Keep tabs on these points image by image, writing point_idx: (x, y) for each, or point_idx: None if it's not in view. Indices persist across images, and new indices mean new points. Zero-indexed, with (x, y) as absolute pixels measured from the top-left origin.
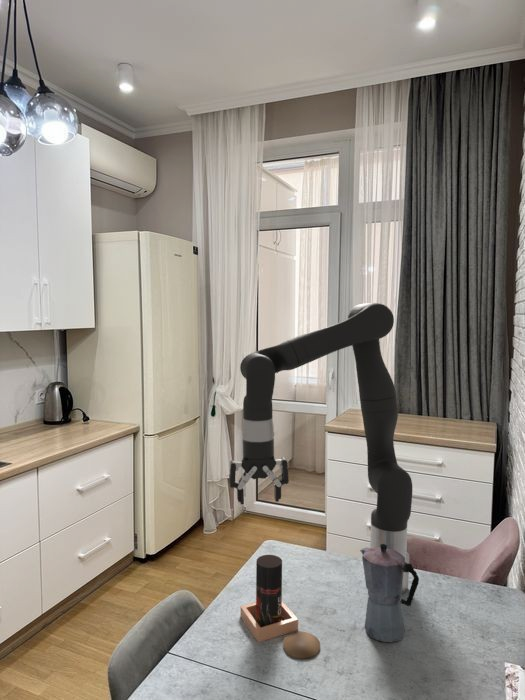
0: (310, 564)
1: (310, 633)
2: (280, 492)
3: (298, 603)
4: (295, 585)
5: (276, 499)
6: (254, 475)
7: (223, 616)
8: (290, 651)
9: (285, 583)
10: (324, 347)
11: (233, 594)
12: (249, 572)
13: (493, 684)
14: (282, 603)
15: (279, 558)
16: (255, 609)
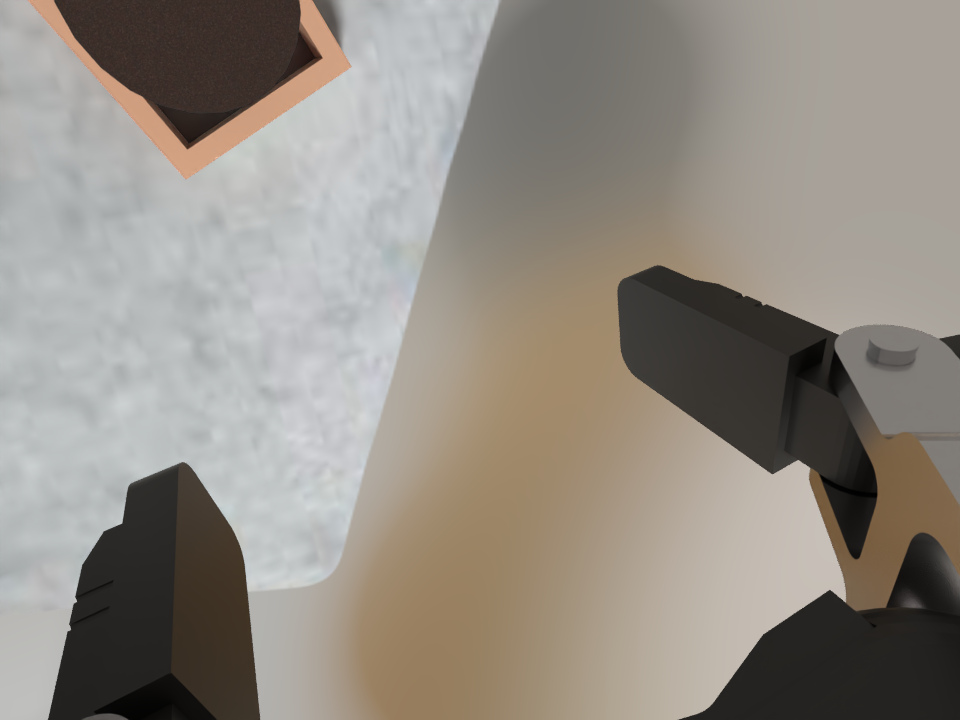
0: (118, 506)
1: None
2: (80, 630)
3: (84, 207)
4: (144, 343)
5: (168, 483)
6: (924, 707)
7: (413, 61)
8: None
9: (197, 346)
10: None
11: (401, 224)
12: (369, 379)
13: None
14: (140, 114)
15: (98, 50)
16: (279, 85)
